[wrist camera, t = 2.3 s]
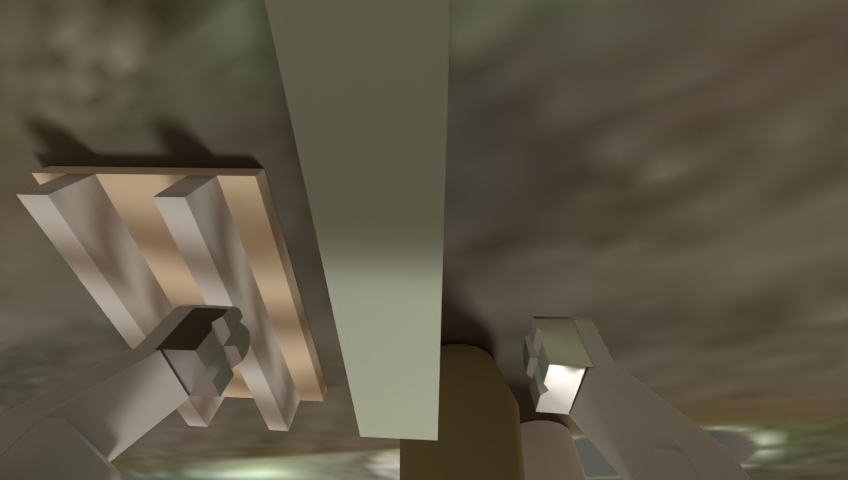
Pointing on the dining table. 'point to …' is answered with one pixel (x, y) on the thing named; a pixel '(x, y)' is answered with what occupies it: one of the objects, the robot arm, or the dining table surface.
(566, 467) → the grey cylinder
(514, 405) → the squeeze bottle
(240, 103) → the dining table surface
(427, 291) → the door panel
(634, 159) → the dining table surface
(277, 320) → the door track
